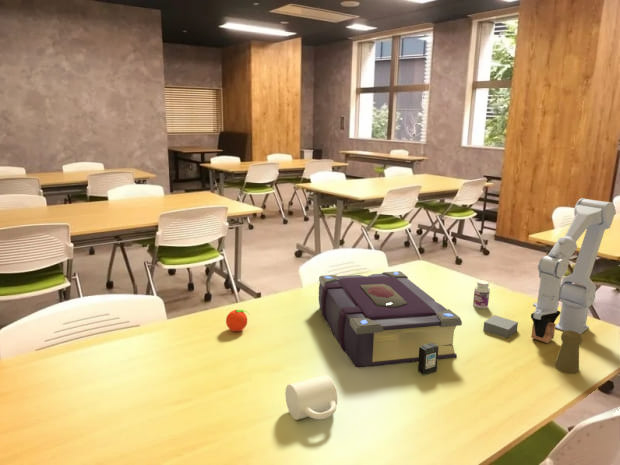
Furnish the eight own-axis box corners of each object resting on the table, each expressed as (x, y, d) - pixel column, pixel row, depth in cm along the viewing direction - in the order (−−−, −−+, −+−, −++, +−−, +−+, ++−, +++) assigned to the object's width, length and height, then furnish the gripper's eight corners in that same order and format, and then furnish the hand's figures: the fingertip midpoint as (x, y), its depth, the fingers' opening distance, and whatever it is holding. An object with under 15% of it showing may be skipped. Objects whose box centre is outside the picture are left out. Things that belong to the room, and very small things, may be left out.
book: (350, 370, 129) (352, 324, 125) (314, 308, 171) (314, 272, 168) (458, 359, 136) (463, 315, 133) (397, 302, 179) (400, 267, 175)
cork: (582, 375, 128) (588, 338, 125) (558, 372, 129) (564, 336, 126) (574, 364, 133) (580, 329, 131) (552, 361, 135) (557, 326, 132)
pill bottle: (471, 306, 174) (473, 282, 172) (474, 302, 178) (477, 278, 176) (486, 310, 171) (489, 285, 169) (489, 305, 176) (491, 281, 173)
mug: (284, 408, 111) (285, 378, 109) (321, 397, 116) (322, 368, 114) (307, 437, 101) (307, 405, 99) (346, 425, 105) (347, 394, 103)
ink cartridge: (423, 376, 126) (424, 349, 124) (417, 372, 128) (419, 345, 126) (437, 371, 128) (438, 345, 126) (431, 367, 130) (433, 342, 128)
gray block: (493, 324, 160) (494, 315, 159) (516, 331, 154) (518, 322, 154) (483, 331, 154) (484, 321, 153) (507, 339, 149) (508, 329, 148)
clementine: (246, 323, 157) (246, 304, 155) (253, 332, 151) (253, 311, 149) (223, 328, 153) (223, 308, 152) (229, 336, 147) (229, 315, 146)
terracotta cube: (537, 332, 152) (539, 318, 150) (553, 338, 148) (555, 323, 147) (531, 337, 148) (533, 323, 147) (547, 343, 145) (549, 328, 144)
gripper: (544, 285, 152) (539, 323, 155) (525, 295, 143) (520, 336, 146) (567, 291, 147) (561, 330, 150) (549, 302, 138) (543, 344, 141)
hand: (542, 333), depth 148 cm, fingers closed on terracotta cube, 5 cm apart
